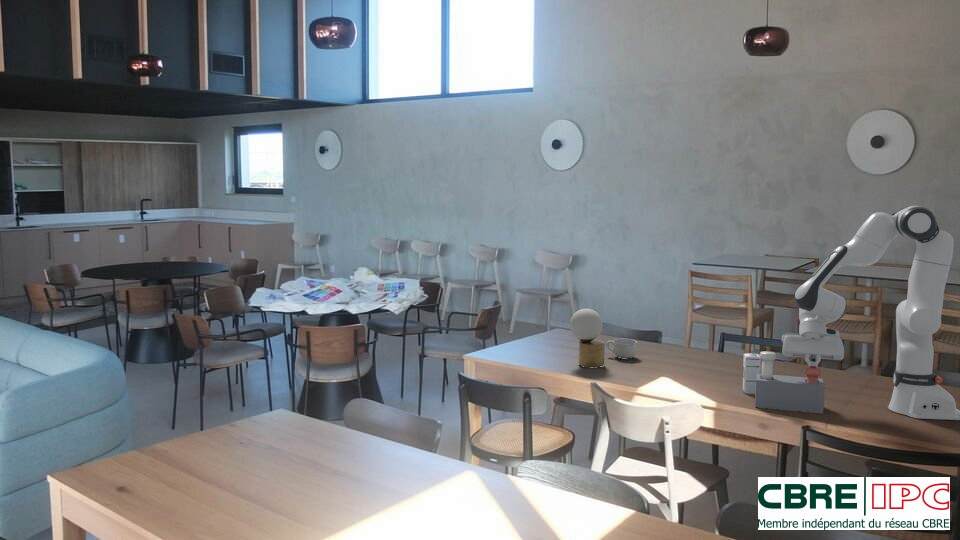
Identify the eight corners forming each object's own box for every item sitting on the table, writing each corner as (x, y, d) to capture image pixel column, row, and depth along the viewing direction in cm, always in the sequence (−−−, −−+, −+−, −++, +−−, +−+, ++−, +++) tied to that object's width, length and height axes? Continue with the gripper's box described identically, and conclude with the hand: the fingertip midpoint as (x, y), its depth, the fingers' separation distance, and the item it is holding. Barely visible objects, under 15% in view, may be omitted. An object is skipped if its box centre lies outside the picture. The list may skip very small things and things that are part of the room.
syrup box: (760, 394, 287) (761, 356, 285) (743, 393, 288) (745, 356, 286) (757, 390, 292) (759, 353, 291) (741, 389, 294) (743, 352, 292)
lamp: (566, 367, 329) (567, 310, 326) (572, 360, 342) (573, 305, 339) (601, 370, 325) (603, 312, 322) (606, 362, 338) (607, 307, 335)
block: (820, 405, 272) (822, 378, 271) (823, 413, 263) (824, 385, 262) (754, 400, 279) (756, 373, 278) (755, 407, 270) (756, 380, 269)
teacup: (640, 357, 349) (640, 340, 348) (631, 361, 340) (631, 344, 339) (611, 353, 356) (612, 336, 356) (602, 357, 347) (602, 340, 346)
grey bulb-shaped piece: (773, 390, 275) (775, 352, 273) (774, 393, 270) (775, 355, 268) (758, 388, 276) (760, 351, 275) (758, 392, 271) (760, 354, 270)
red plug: (818, 405, 270) (820, 367, 269) (819, 410, 265) (821, 370, 264) (802, 404, 272) (804, 366, 270) (803, 408, 267) (805, 369, 265)
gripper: (781, 327, 275) (781, 360, 267) (844, 331, 269) (845, 364, 261) (780, 337, 280) (780, 369, 272) (841, 341, 273) (843, 374, 265)
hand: (813, 367), depth 266 cm, fingers closed, pressing on red plug
